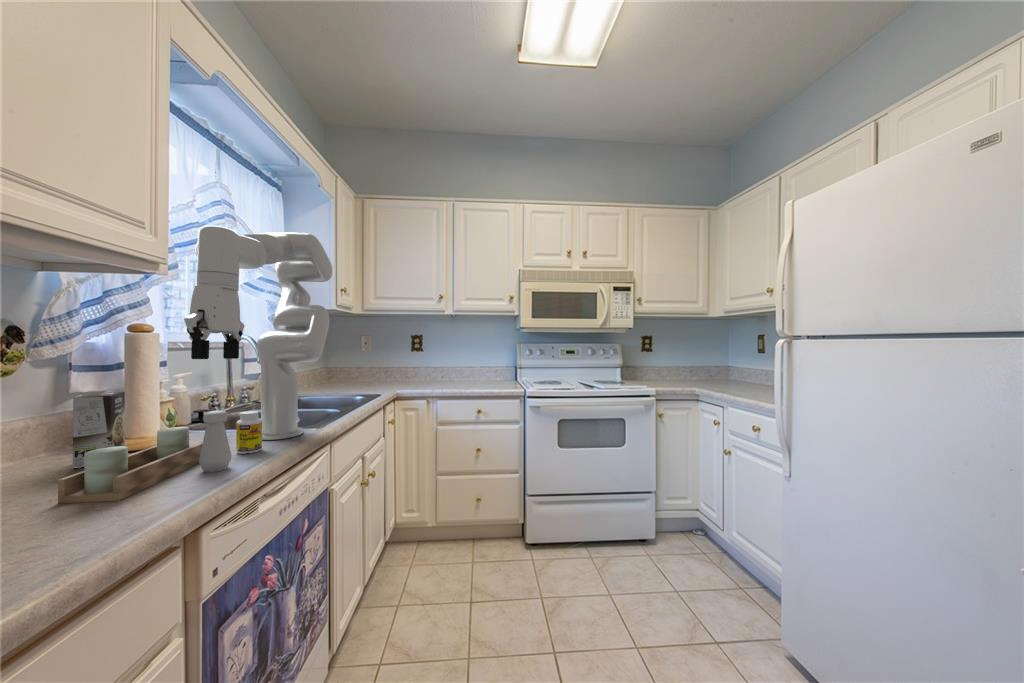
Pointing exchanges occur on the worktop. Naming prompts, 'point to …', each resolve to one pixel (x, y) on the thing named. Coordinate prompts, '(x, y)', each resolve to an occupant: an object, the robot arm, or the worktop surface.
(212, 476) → the worktop surface
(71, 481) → the spice rail
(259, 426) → the supplement bottle
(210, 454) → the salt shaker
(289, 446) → the worktop surface
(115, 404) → the coffee box
